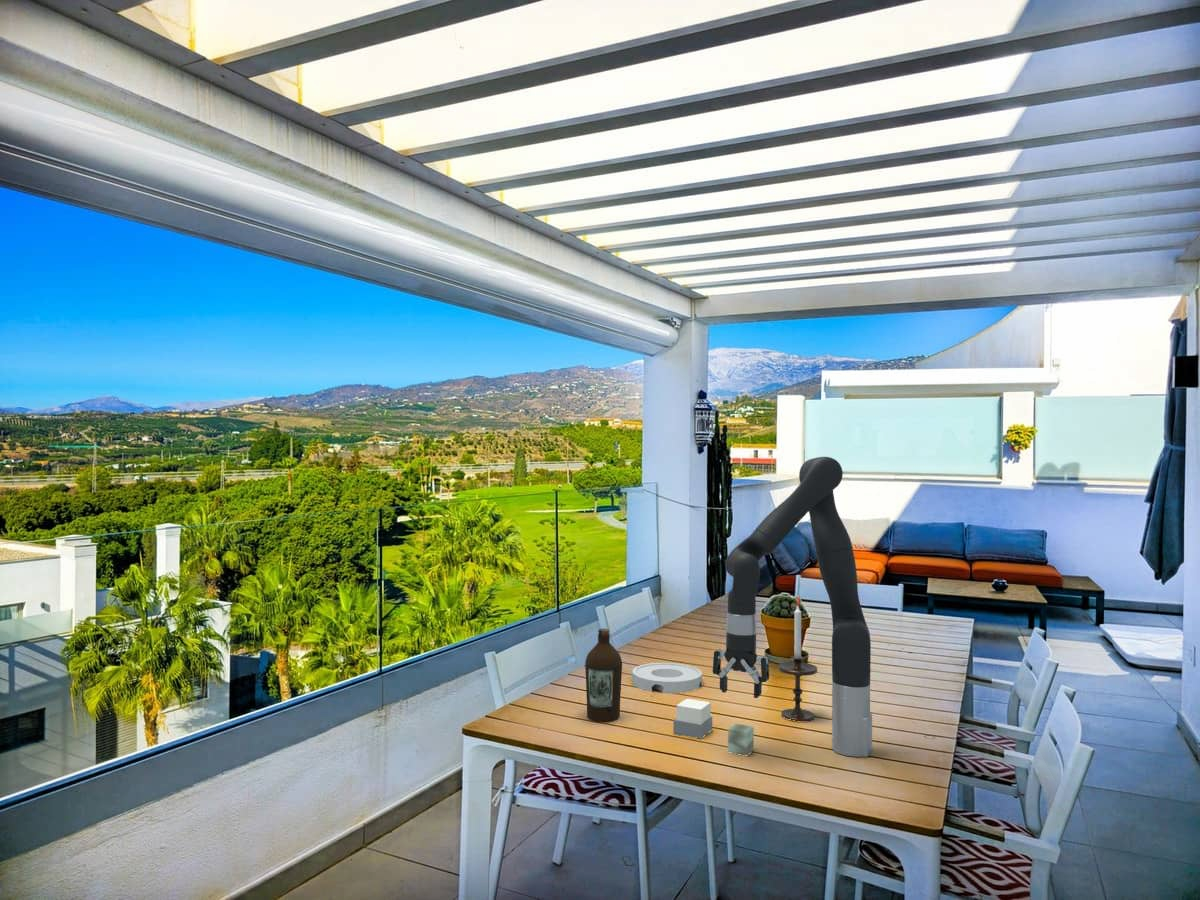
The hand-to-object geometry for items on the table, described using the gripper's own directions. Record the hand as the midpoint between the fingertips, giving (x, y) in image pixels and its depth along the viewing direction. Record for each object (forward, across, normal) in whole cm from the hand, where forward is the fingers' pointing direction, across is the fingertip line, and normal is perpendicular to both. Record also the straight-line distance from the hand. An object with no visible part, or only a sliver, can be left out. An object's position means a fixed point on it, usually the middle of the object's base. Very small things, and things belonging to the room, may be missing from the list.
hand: (740, 694), depth 196 cm
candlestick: (+14, -5, -34) cm, 37 cm away
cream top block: (+11, +16, -7) cm, 20 cm away
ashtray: (+15, +42, -46) cm, 64 cm away
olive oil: (+15, +43, -5) cm, 45 cm away
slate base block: (+15, +16, -7) cm, 23 cm away
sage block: (+14, 0, 0) cm, 14 cm away
